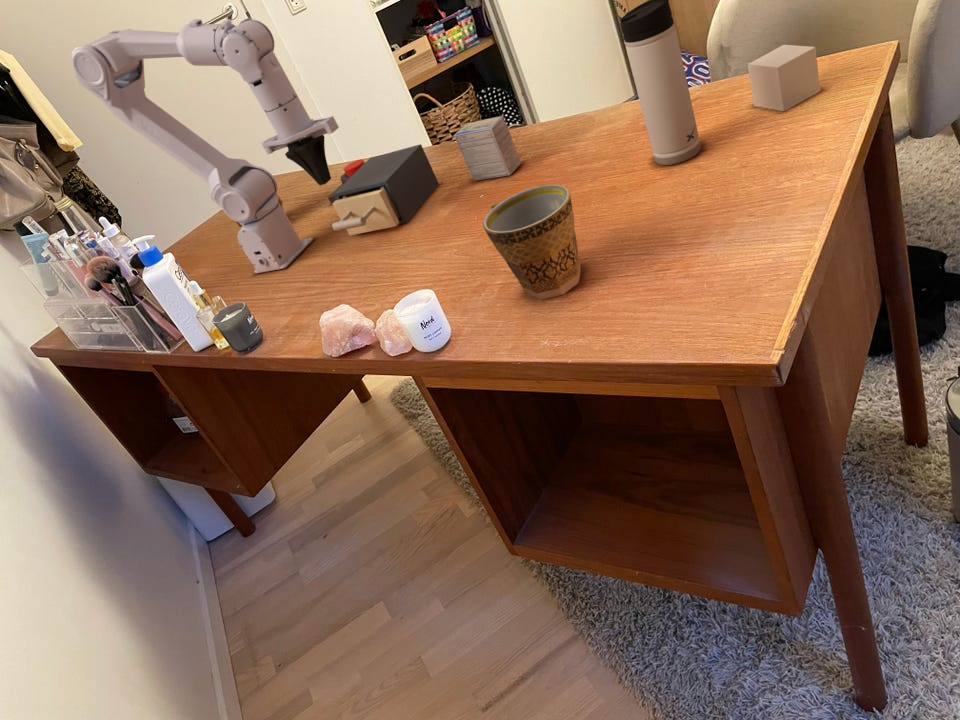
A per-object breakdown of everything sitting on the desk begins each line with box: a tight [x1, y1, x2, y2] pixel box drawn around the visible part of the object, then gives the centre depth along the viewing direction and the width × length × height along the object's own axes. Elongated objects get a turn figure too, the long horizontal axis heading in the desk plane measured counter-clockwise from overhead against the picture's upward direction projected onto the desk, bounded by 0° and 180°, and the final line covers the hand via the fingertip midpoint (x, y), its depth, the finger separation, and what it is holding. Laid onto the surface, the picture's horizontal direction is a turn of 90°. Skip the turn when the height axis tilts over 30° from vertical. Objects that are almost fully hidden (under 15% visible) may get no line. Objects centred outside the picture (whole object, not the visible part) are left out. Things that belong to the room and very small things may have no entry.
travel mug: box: [619, 0, 702, 166], centre depth 89 cm, size 6×7×20 cm
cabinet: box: [334, 143, 440, 226], centre depth 119 cm, size 13×11×8 cm
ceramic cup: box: [482, 184, 582, 300], centre depth 78 cm, size 13×10×10 cm
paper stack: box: [453, 115, 522, 182], centre depth 114 cm, size 8×4×9 cm, turn 58°
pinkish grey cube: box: [747, 44, 821, 112], centre depth 93 cm, size 6×6×6 cm
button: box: [343, 159, 366, 177], centre depth 138 cm, size 4×4×2 cm
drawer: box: [331, 185, 400, 236], centre depth 116 cm, size 17×10×6 cm, turn 157°
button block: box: [327, 161, 367, 206], centre depth 139 cm, size 12×10×4 cm
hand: (325, 182), depth 113 cm, fingers closed
